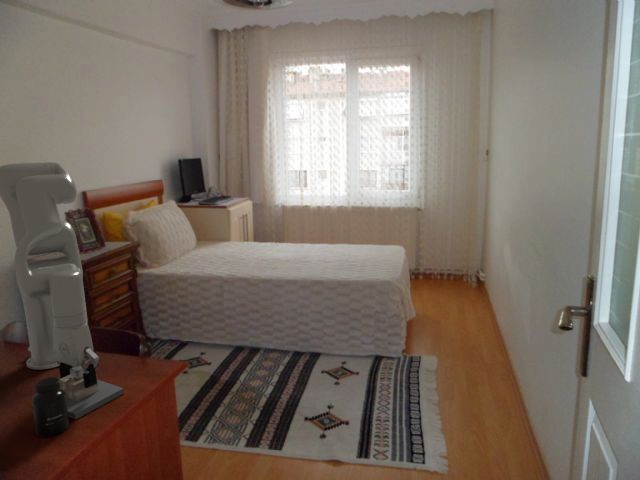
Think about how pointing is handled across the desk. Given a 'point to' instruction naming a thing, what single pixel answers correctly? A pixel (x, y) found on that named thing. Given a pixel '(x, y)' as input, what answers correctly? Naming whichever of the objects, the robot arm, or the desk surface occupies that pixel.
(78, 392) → the beige block with hole
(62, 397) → the supplement bottle
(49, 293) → the robot arm
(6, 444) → the desk surface
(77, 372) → the steel post
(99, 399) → the hub plate
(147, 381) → the desk surface
